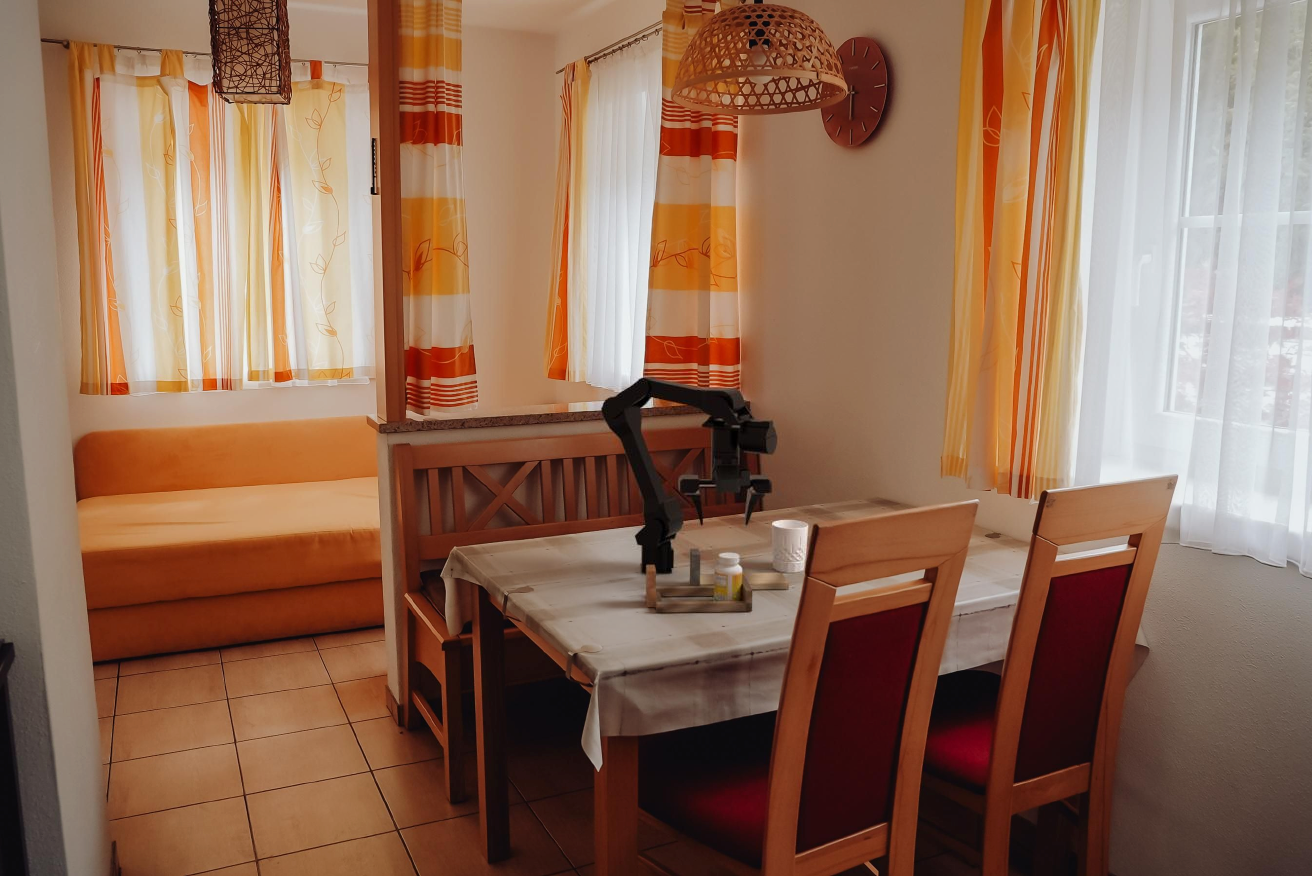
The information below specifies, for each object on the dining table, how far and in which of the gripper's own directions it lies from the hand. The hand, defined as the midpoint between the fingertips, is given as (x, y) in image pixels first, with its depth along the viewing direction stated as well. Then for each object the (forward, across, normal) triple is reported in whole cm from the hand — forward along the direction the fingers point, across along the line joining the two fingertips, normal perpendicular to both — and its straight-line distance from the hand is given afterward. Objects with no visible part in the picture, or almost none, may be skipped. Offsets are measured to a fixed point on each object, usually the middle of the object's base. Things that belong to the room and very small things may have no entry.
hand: (723, 524), depth 202 cm
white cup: (+12, +15, +9) cm, 22 cm away
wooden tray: (+12, -6, -14) cm, 20 cm away
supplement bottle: (+12, 0, -14) cm, 19 cm away
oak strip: (+12, +4, -3) cm, 13 cm away
